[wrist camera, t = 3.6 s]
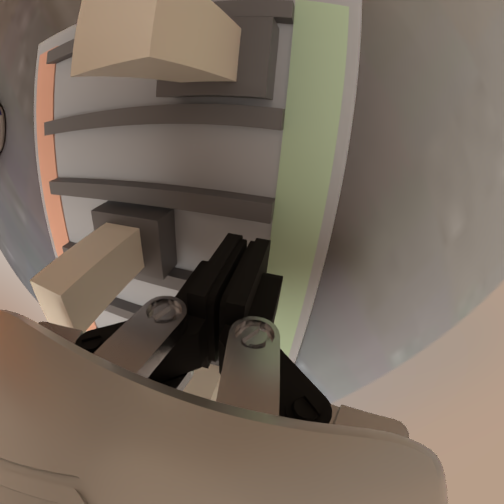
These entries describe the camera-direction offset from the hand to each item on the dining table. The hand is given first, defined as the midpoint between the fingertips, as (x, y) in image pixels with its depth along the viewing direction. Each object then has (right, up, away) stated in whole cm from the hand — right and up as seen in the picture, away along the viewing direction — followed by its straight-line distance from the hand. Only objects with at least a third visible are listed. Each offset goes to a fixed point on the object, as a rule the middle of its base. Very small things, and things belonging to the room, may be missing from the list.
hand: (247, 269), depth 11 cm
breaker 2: (-5, +2, +2) cm, 6 cm away
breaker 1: (-1, +8, -3) cm, 8 cm away
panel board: (-5, +2, +3) cm, 6 cm away
